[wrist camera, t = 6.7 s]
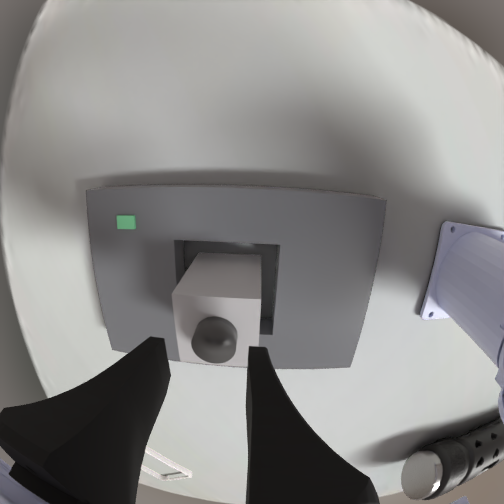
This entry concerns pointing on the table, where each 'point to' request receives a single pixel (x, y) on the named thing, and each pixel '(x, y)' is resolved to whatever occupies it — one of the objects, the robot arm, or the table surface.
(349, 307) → the charging plate
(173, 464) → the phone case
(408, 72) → the table surface
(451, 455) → the muzzle brake
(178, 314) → the charger plug
